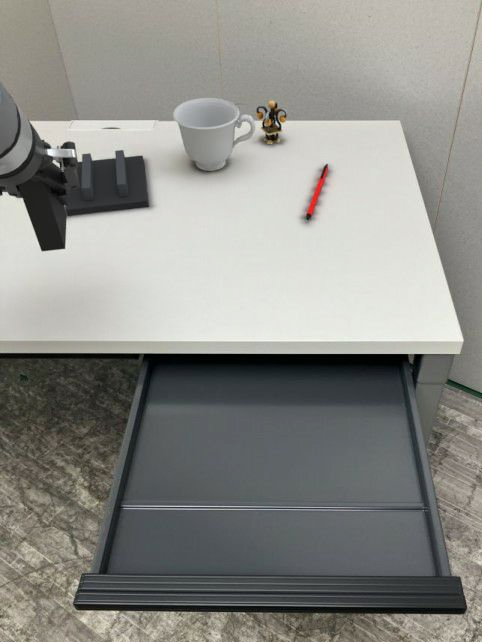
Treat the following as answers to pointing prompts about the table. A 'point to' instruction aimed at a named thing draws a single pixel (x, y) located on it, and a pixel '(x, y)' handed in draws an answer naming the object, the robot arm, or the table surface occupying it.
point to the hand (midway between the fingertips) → (49, 196)
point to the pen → (316, 192)
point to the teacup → (210, 130)
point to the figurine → (271, 121)
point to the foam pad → (45, 214)
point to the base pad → (108, 185)
